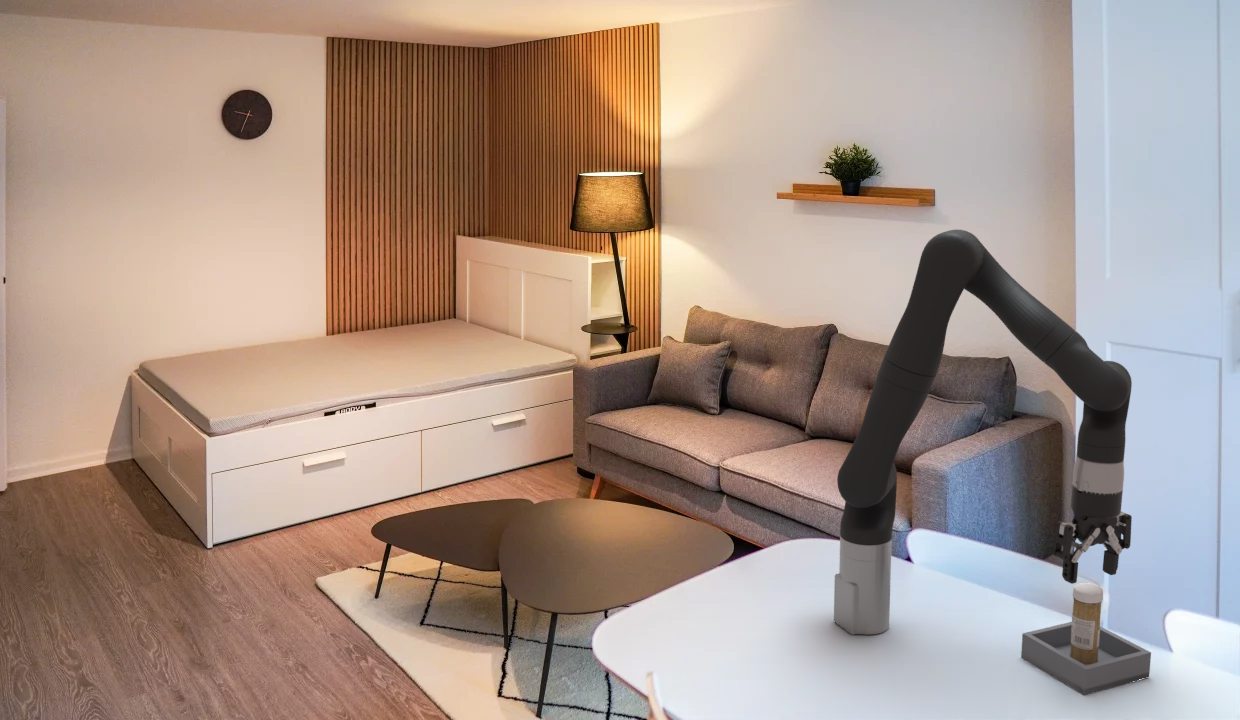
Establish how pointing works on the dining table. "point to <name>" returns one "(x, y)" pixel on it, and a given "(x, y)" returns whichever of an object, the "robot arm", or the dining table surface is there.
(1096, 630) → the sprinkles bottle
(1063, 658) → the bin
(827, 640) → the dining table surface
